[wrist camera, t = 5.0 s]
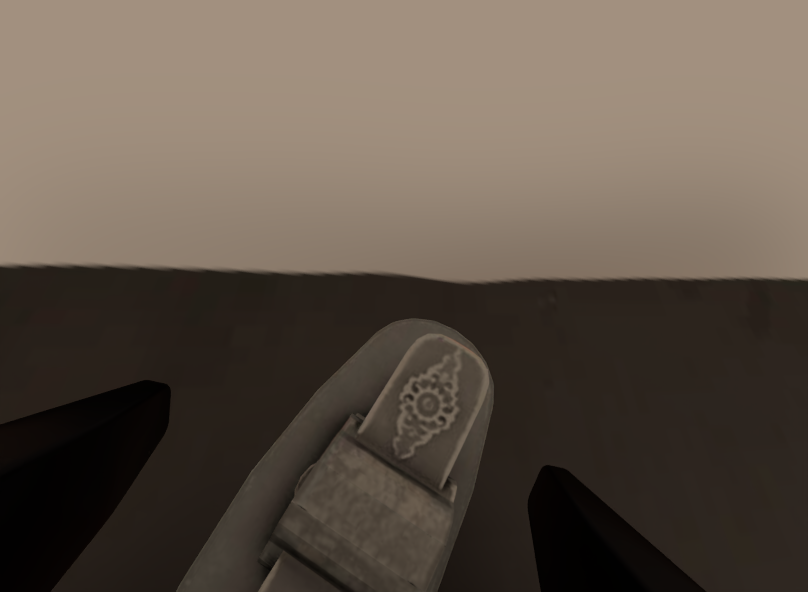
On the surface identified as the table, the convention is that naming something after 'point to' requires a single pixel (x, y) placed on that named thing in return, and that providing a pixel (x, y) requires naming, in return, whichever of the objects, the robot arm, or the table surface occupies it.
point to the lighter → (362, 475)
